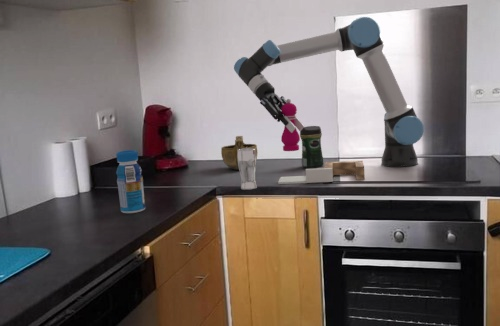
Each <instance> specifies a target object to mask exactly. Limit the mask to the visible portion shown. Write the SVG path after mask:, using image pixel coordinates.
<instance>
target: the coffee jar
mask: <svg viewBox="0 0 500 326" xmlns="http://www.w3.org/2000/svg"><path fill="white" fill-rule="evenodd" d="M322 135H323V134H322V129H321V126H320V125H319V126H318V125H308V126H304V127H303V129H302V130H301V131H299V137H300V141H301V149H302V150H301V166H302V167H303V168H304V169H315V168H320V167H323V166H324V165H325V162H324V156H323V151H322V144H321V143H322V142H321V141H322V140H321V139H322Z"/></svg>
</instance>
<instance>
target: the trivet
mask: <svg viewBox="0 0 500 326" xmlns="http://www.w3.org/2000/svg"><path fill="white" fill-rule="evenodd" d="M292 184H297V185H298V184H307V183H306V175H294V176H293V175H292V176H280V177H279V179H278V182H277V185H292Z"/></svg>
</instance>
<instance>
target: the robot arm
mask: <svg viewBox="0 0 500 326" xmlns="http://www.w3.org/2000/svg"><path fill="white" fill-rule="evenodd" d="M384 47H385V43H384V40H383V38H382V36H381V28H380V26H379V24H378V22H377V21H376V20H375V19H374V18H373V17H369V16H361V17H358V18H356V19H354V20H353V21H351V23H350V24H348V25H345V26H344V27H340V28H337V29H336V30H335V31H333V32H330V33H326V34H321V35H316V36H311V37H308V38H303V39H299V40H294V41H291V42H287V43H283V44H278V45H276V44H275V43H274V42H273V40H272V39H267V41H266V42H264V43H263V44H262V45H261V46H260V47H259V48H258V49H257V50H256V51H255V52H254V53H253V54H252V55H251V56H250V57H246V56H242V57H240V58H238V59H237V60H236V62H235V63H234V65H233V70H234V72H235V73H236V75H237V76H238V77H239V78H240V79H241V80H242V82H243V83H245V85H246V86H247V87H248V88H249V90H250V91H251V92H252V93H253V94H254V95H255V97H256V98H257V99H258V100H259V101H260V102H259V104H260V105H261V106H263V107H264V109H265V110H266V111H267V112H268V113H269V114H270V116H272V118H273V119H274V120H275V121H276V122H277V123H279V122H281V123H282V124H283V125H284V127H285V126H286V127H287V128H288V130H289V131H290V132H291V133H292V132H293V131H294V130H295V129H296V130H297V131H298V132H300V131H301V130H302V129H303V127H305V125H304V123H303V122H302V121H301V120H300V119H299V118H298V117H297V116H296V117H295V118H296V119H295V126H294V124H293V123H292V122H291V121H290V120H289V119H288V118H287V117H286V116H284V115H283V113H282V112H281V108H282V106H283V105H284V104H286V103H287V102H286V100H287V99H286V98H285V97H284V96H283V95H281V97H280V96H279V95H278V94H277V93H275V86H273V85H272V83H270V82H269V81H268V79H267V78H266V77H265V75H264V74H262V72H264V70H265V69H267V67H271V66H273V65H278V64H282V63H286V62H290V61H294V60H300V59H304V58H308V57H313V56H318V55H321V54H326V53H330V52H336V51H339V52H346V51H353V52H354V54H355V57H356V58H357V59H360V60H362V62H363V65H364V67H365V69H366V71H367V73H368V75H369V78H370V80H371V82H372V85H373V87H374V88H375V91H376V93H377V95H378V98H379V100H380V102H381V104H382V106H383V108H384V111H385V114H384V118H383V122H384V141H385V142H384V143H385V144H384V149H383V150H384V151H383V154H382V157H381V165H382V166H384V167H393V168H394V167H396V168H397V167H400V168H401V167H403V168H404V167H412V166H416V165H418V164H419V163H418V162H419V161H418V156H417V154H416V153H417V152H416V151H415V148H414V144H416V143H418V142H419V141H420V140H421V139H422V137H423V135H424V131H425V130H424V129H425V128H424V124H423V122H422V120H421V119H420V118H419V117H418V116H417V114H416V112H415V110H414V107H413V106H412V105H410V104H407V102H406V99H405V97H404V94H403V92H402V90H401V88H400V86H399V84H398V81H397V79H396V77H395V74H394V72H393V71H392V70H393V69H392V68H391V66H390V63H389V61H388V59H387V56H386V54H385V52H384V50H383V49H384ZM296 114H297V111H296V113H295V115H296ZM283 116H284V117H283Z"/></svg>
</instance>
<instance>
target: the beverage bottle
mask: <svg viewBox="0 0 500 326" xmlns="http://www.w3.org/2000/svg"><path fill="white" fill-rule="evenodd" d="M138 160H139V154H138V150H135V149H132V150H131V149H129V150H121V151H117V152H116V161H117V163H119V164H118V166H117V168H116V173H115V174H116V175H117V179H116V183H117V190H118V197H119V206H120V207H119V209H120V212H121V213H122V214H135V213H140V212H143V211H145V210H146V200H145V192H144V189H145V188H144V178H143V177H144V176H143V175H142V172H143V170H142V168H141V166H140V164H139V163H138Z"/></svg>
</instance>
